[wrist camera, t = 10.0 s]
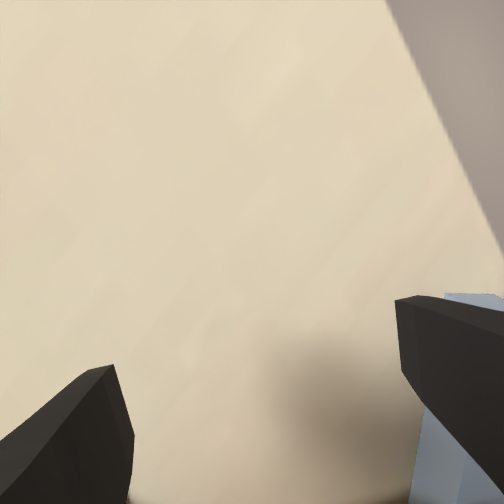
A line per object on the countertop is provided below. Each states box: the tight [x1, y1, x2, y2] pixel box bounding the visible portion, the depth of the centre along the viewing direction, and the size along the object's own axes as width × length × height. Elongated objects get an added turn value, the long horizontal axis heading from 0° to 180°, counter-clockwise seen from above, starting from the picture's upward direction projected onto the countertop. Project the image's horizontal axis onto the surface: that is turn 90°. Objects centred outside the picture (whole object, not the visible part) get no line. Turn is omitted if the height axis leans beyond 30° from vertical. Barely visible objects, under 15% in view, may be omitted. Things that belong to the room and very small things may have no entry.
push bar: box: [408, 293, 504, 504], centre depth 22 cm, size 3×14×4 cm, turn 177°
